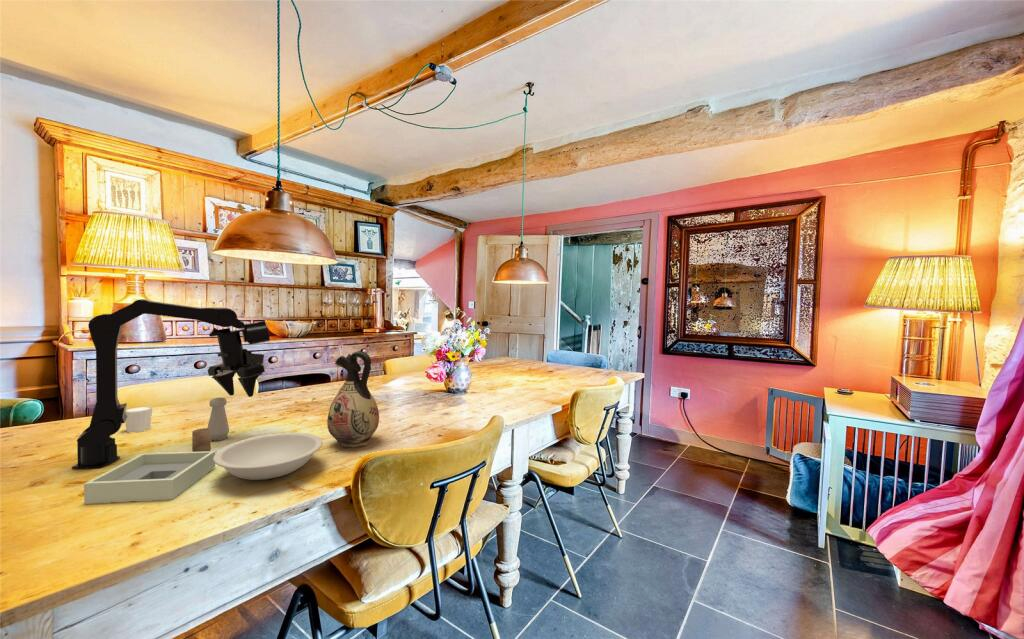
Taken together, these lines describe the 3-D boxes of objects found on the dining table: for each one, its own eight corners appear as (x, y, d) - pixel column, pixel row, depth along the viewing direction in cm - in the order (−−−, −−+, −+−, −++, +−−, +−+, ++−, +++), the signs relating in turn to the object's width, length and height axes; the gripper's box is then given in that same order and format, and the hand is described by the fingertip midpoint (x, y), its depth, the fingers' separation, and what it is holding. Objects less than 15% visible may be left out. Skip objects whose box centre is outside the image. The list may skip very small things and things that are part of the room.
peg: (188, 461, 105) (188, 433, 105) (197, 456, 109) (197, 428, 109) (205, 461, 106) (205, 432, 105) (213, 455, 110) (213, 428, 109)
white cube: (118, 431, 125) (118, 410, 125) (143, 425, 132) (143, 405, 132) (132, 434, 123) (132, 413, 123) (157, 428, 130) (157, 407, 130)
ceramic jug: (314, 447, 118) (316, 350, 117) (351, 432, 133) (352, 346, 131) (360, 456, 113) (362, 355, 111) (392, 439, 127) (394, 349, 126)
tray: (84, 504, 83) (84, 483, 83) (142, 470, 99) (142, 453, 99) (172, 499, 86) (172, 479, 86) (215, 467, 102) (215, 451, 102)
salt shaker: (219, 442, 119) (219, 401, 119) (201, 441, 120) (201, 400, 119) (233, 436, 125) (233, 396, 125) (216, 435, 125) (216, 395, 125)
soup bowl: (231, 459, 108) (231, 436, 107) (326, 450, 116) (326, 429, 116) (195, 502, 85) (196, 472, 85) (316, 487, 94) (316, 460, 93)
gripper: (276, 341, 123) (285, 388, 125) (238, 342, 130) (247, 386, 133) (240, 350, 113) (251, 401, 115) (202, 350, 120) (212, 397, 122)
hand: (241, 395), depth 122 cm, fingers open, 9 cm apart
